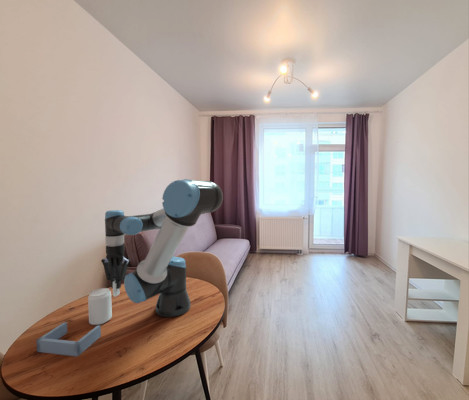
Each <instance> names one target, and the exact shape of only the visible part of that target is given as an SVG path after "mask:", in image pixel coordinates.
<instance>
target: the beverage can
mask: <svg viewBox="0 0 469 400" xmlns="http://www.w3.org/2000/svg"><path fill="white" fill-rule="evenodd" d="M87 301H88V303H87V305H88V306H87V307H88V308H87V309H88V323H89V324H90V325H93V326H97V325H103V324H105V323H106V322H108V321H109V320H111V319H112V317H113V310H112V309H113V308H112V307H113V305H112V291H111V288H107V287H102V288H97V289H94V290H92V291H90V292H89V295H88V297H87Z"/></svg>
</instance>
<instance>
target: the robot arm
mask: <svg viewBox="0 0 469 400" xmlns="http://www.w3.org/2000/svg"><path fill="white" fill-rule="evenodd" d="M161 199H162V202H161V203H162V208H161V209H159V210H156V211H154V212H152V213H146V214H140V215H139V214H137V215H125V212H124V211H123V210H121V209H120V210H119V209H114V210H113V209H112V210H107V211H105V214H104V215H105V216H104V217H105V218H104V226H105V227H104V230H105V254H106V256H105V257H104V258H102V259H101V264H102V265H103V270H104V273H105V278H106V280H107V281H110V282H111V283H110V285H111V286H110V287H111V288H110V289H112V297H115V298H116V297H117V296H119V295H120V294H121V289H120V288H122V281H123V284H124V285H123V286H124V289H125V293H126V295H127V297H128V298H129V300H130V301H131V302H133V303H135V304H140V303H142V302H146V301H147V300H149V299H151V298H153V297H155V296H157V295H158V298H157V300H156V303H155V313H156V315H158V316H159V317H163V318H175V317H178V316H181V315H183V314H186V313H187V312H188V311H190V309H191V299H190V296H189V293H188V291H187V265H186V259H185V258H183V257H181V256H174V255H175V253H176V252H177V249H178V248H179V246H180V244H181V242H182V241H183V239H184V236H185V234H186V233H187V232H188V229H189V228H190V227H193V226H195V225H196V224H197V222H198V220H199V218H200V216H201V215H204V214H209V213H213V212H215V211H217V210H218V209H220V208H221V206H222V204H223V200H224V194H223V191H222V188H221V187H220V186H219V185H218V184H217V183H215V182H213V181H210V180H192V179H189V178H188V179H186V178H185V179H177V180H174V181H172V182H171V183H170V184H168V185H167V186H166V188H165V189H164V191H163V194H162V198H161ZM152 230H159V231H158V233H156V237H155V239H154V241H153V242H152V245H151V247H150V249H149V251H148V253H147V255H146V257H145V258H144V259H143V260H141V261H140V262H139V263H138V264H137V266H136V268H135V270H134V272H133V271H132V272H129V273H128V274H127V270H128V266H129V263H130V262H131V259H129V258H128V259H127V258H126V256H125V248H126V247H125V235H128V236H130V235H131V236H135V235H138V234H139V233H141V232H148V231H152Z"/></svg>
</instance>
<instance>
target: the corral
mask: <svg viewBox="0 0 469 400" xmlns="http://www.w3.org/2000/svg"><path fill="white" fill-rule="evenodd" d="M101 328H102V327H101V324H99V325H95V327H94V328H93V329H91V330H90V331H88V332H87V333H86V334H85V335H83V336H82V337H81V338H80V339H78V340H77V341H75V340H66V339H61V338H62V337H64V336H65V335H66V334H67V333H68V322H65V321H64V322H62V323H61V324H59V325H57V326H56V327H55V328H53V329H51V330H50V331H48V332H46V333H45V334H44V335H42V336H40V337H39V338H37V339H36V340H35V341H36V342H35V343H36V352H37V353H47V354H52V355H53V354H54V355H62V356H71V357H77V358H78V357H79V356H80V355H81V354H82V353H83V352H85V351H86V350H87V349H88V348H89V347H91V346H92V345H93V344H94V343H95V342H96V341H97V340H99V339H100V338H101V337H102V330H101Z"/></svg>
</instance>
